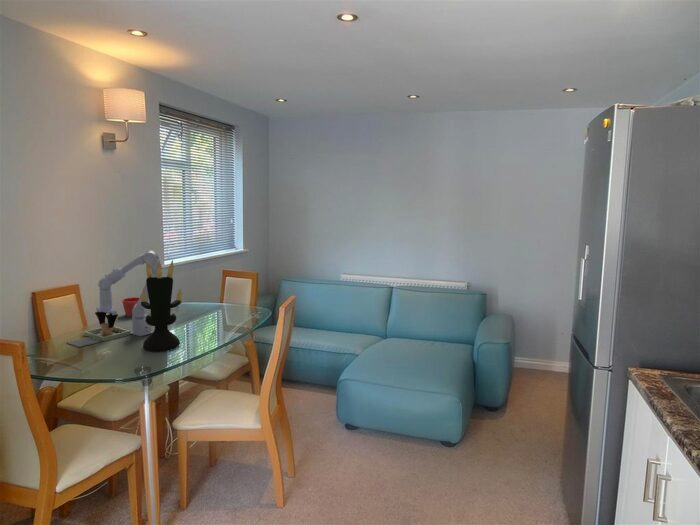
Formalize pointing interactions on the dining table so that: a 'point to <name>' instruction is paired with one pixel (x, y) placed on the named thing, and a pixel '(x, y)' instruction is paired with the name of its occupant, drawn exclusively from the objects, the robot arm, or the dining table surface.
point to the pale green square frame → (123, 333)
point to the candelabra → (160, 309)
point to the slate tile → (83, 342)
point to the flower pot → (129, 305)
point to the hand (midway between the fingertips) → (106, 326)
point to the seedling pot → (106, 329)
